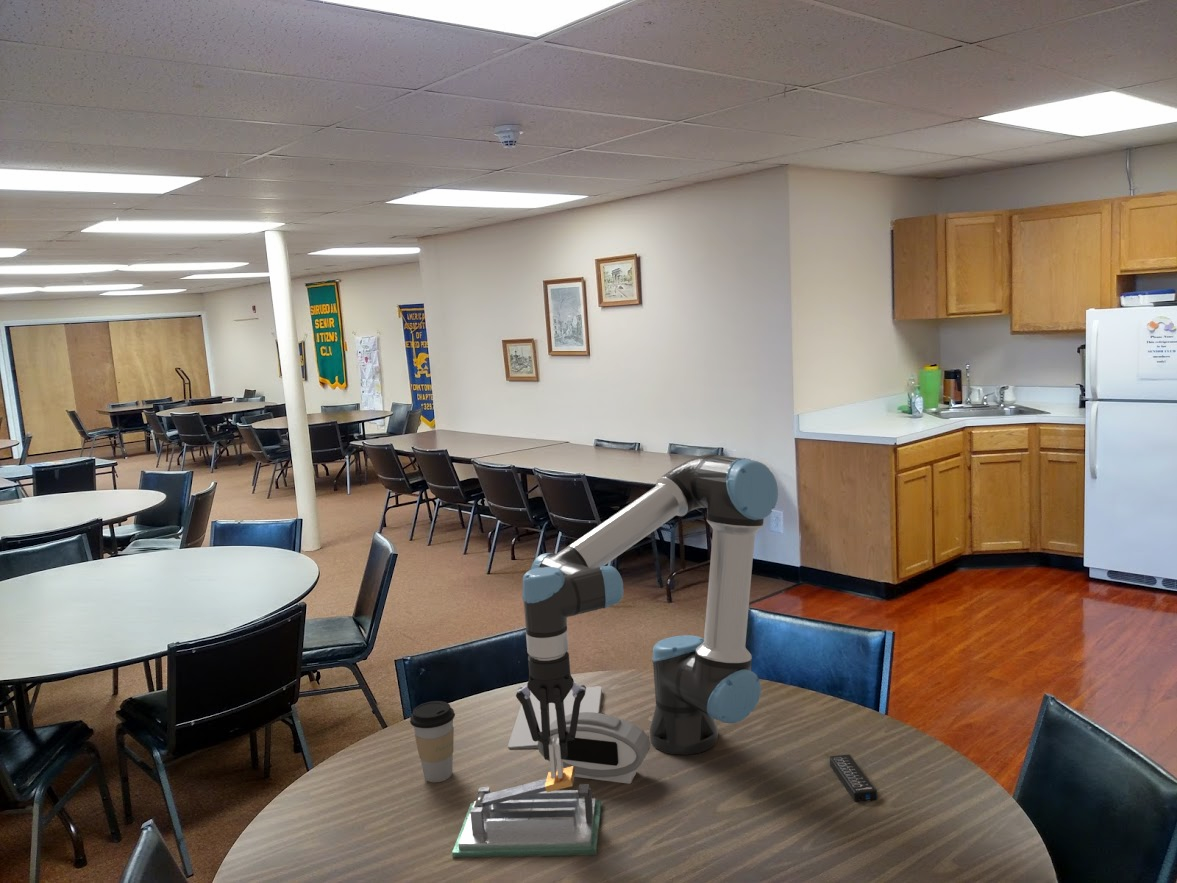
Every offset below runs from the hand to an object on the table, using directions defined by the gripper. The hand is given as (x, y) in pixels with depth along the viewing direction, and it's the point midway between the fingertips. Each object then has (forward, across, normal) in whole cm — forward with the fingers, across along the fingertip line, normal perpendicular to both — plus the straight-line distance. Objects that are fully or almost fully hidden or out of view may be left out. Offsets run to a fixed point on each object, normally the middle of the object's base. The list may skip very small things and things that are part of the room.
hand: (557, 774), depth 160 cm
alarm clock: (+11, -5, -20) cm, 24 cm away
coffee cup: (+11, +29, -21) cm, 38 cm away
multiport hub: (+12, -57, -14) cm, 60 cm away
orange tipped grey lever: (+4, +6, 0) cm, 7 cm away
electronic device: (+12, +6, -46) cm, 48 cm away
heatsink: (+11, +6, 0) cm, 13 cm away
